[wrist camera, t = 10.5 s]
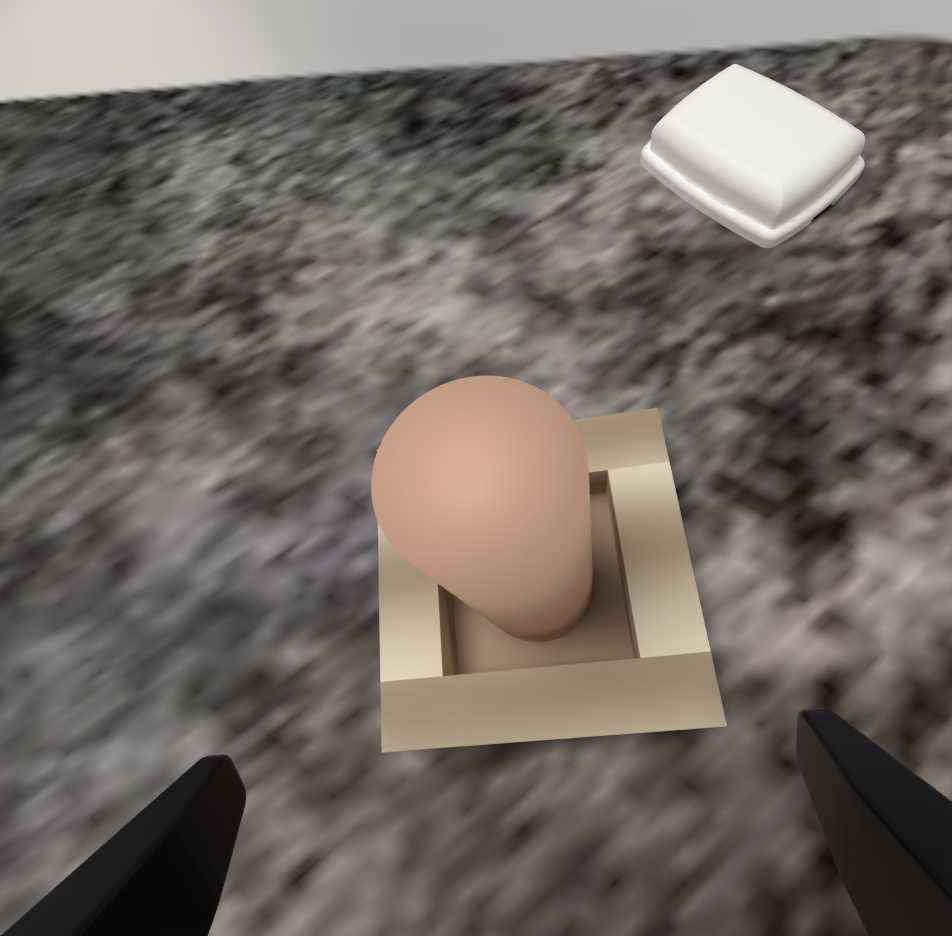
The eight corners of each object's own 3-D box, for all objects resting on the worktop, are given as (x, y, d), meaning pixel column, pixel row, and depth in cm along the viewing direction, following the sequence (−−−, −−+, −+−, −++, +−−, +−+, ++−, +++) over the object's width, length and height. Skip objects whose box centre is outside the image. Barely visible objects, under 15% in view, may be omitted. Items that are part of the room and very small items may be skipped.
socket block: (708, 722, 21) (726, 726, 18) (407, 745, 22) (381, 752, 20) (650, 439, 25) (657, 407, 22) (399, 475, 26) (376, 449, 24)
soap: (628, 167, 31) (632, 117, 28) (723, 93, 32) (735, 37, 29) (767, 262, 27) (786, 215, 25) (870, 177, 28) (899, 122, 25)
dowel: (544, 667, 22) (488, 633, 11) (458, 592, 24) (329, 493, 12) (616, 575, 23) (635, 451, 11) (527, 508, 24) (466, 340, 13)
